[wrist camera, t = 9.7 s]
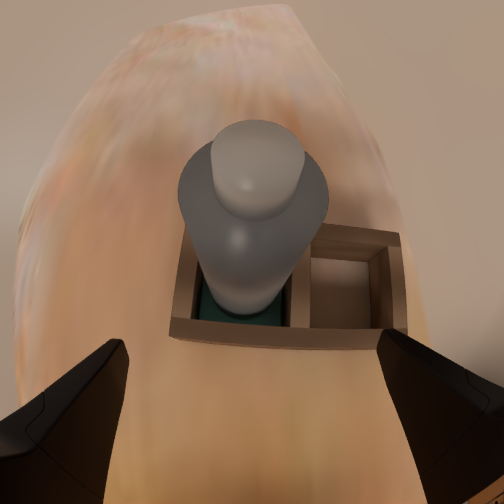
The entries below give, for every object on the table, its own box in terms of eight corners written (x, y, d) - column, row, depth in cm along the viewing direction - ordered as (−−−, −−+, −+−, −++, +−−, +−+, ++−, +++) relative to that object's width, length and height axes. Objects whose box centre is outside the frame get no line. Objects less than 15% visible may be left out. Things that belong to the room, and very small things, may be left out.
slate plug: (259, 330, 19) (313, 266, 6) (200, 303, 20) (132, 187, 6) (284, 274, 21) (359, 132, 7) (228, 249, 21) (221, 83, 8)
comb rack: (383, 348, 20) (407, 345, 16) (179, 339, 19) (168, 335, 16) (379, 250, 23) (398, 232, 19) (194, 232, 22) (187, 211, 19)
